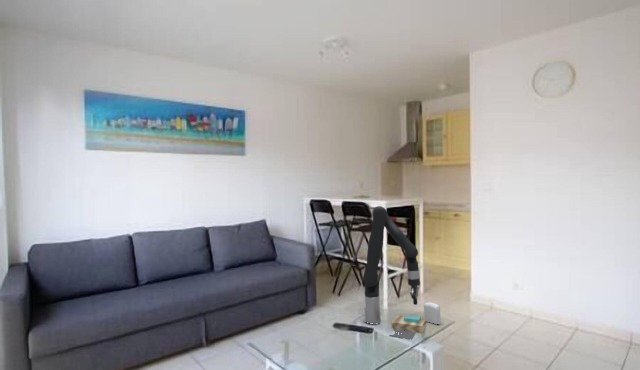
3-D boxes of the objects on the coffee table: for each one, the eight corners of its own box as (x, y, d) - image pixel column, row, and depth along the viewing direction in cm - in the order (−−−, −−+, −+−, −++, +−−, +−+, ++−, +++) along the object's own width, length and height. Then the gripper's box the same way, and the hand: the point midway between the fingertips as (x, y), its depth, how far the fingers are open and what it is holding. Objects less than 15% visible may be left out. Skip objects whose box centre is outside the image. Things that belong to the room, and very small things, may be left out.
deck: (392, 328, 216) (391, 322, 216) (397, 321, 226) (397, 315, 226) (421, 333, 207) (421, 326, 207) (426, 325, 218) (425, 318, 218)
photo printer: (423, 321, 225) (422, 302, 225) (427, 319, 227) (426, 300, 227) (438, 325, 217) (437, 305, 217) (442, 323, 219) (440, 303, 219)
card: (403, 321, 216) (403, 318, 216) (406, 317, 222) (406, 314, 222) (418, 323, 212) (418, 319, 212) (420, 319, 217) (420, 316, 217)
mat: (389, 336, 205) (389, 335, 205) (393, 329, 214) (393, 329, 214) (411, 339, 199) (411, 339, 199) (415, 332, 208) (415, 332, 208)
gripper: (410, 274, 233) (412, 300, 232) (404, 279, 221) (407, 307, 221) (421, 274, 229) (423, 301, 229) (417, 280, 217) (419, 308, 217)
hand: (415, 304), depth 225 cm, fingers closed
